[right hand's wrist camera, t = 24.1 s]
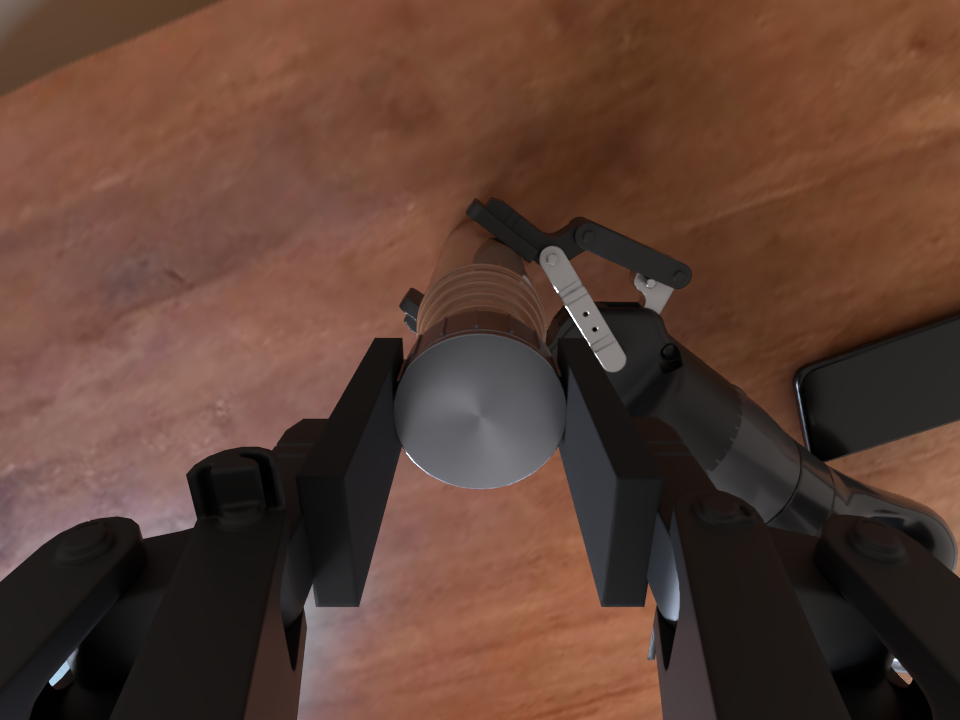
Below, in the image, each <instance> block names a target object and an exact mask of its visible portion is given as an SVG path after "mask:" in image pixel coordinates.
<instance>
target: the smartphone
mask: <svg viewBox="0 0 960 720" xmlns="http://www.w3.org/2000/svg"><path fill="white" fill-rule="evenodd" d="M793 388H794V393H795V398H796V404H797V409H798V414H799V420H800V425H801V430H802V435H803V440H804V445H805V448H806V449H807V450H808V451H809V452H811V453H812V454H813V455H814V456H816V457H817V458H818V459H820V460H821V461H822V462H828V461H832V460H835V459H838V458H841V457H844V456H848V455H851V454H854V453H857V452H860V451H863V450H867V449H870V448H873V447H876V446H879V445H883V444H886V443H889V442H892V441H895V440H898V439H902V438H905V437H908V436H911V435H914V434H917V433H921V432H924V431H927V430H930V429H933V428H936V427H940V426H943V425H946V424H949V423H952V422H956V421H959V420H960V311H959V312H956V313H954V314H951V315H948V316H945V317H942V318H939V319H936V320H933V321H930V322H927V323H924V324H921V325H918V326H916V327H913V328H910V329H907V330H904V331H901V332H898V333H895V334H892V335H889V336H886V337H883V338H880V339H878V340H875V341H872V342H869V343H866V344H863V345H860V346H857V347H854V348H851V349H848V350H845V351H842V352H840V353H837V354H834V355H831V356H828V357H825V358H822V359H819V360H816V361H813V362H810V363H808V364H805V365H803V366H801V367H800V368H799V369H798V370H797V371H796V372H795V374H794V376H793Z"/></svg>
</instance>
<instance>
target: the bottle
mask: <svg viewBox="0 0 960 720" xmlns="http://www.w3.org/2000/svg"><path fill="white" fill-rule="evenodd" d="M475 309H478V311H490V312H496V313H501V314H504V315H507V314H510V315H511V317H513V318H515V319H517V320H519V321H521V322H523V323H524V324H526V325H527V326H528V327H530V328H531V329H532V330H533V331H534V330H536V331H537V332H538V335H539V336H540V338H541V339H542V340H543V341H544V342H545V343H546V335H547V334H546V316H545V311H544V307H543V304H542V302H541V299H540V297H539V294H538V292H537V289H536V287H535V285H534V282H533V280H532V277H531V275H530V272H529V270H528V268H527V265H526V263H525V260H524V258H522V257H521V256H520V255H518V254H517V253H516V252H515V251H514V250H512V249H511V248H509V247H508V246H507V245H505V244H504V243H503V242H502V241H500V240H499V239H498V238H496V237H495V236H494V235H492V234H491V233H490V232H489V231H487V230H486V229H485V228H483V227H482V226H481V225H479V224H478V223H477V222H476V221H471V222H468V223H465V224H463V225H461V226H460V227H458V228H457V229H456V230H455V231H454V232H453V233H452V234H451V235H450V236H449V238H448V239H447V241H446V243H445V245H444V248H443V250H442V253H441V255H440V257H439V260H438V262H437V265H436V267H435V270H434V272H433V275H432V277H431V280H430V282H429V284H428V287H427V289H426V292H425V294H424V297H423V299H422V302H421V304H420V307H419V311H418V316H417V338H418V336H419V335H420V334H421V335H422V334H423V333H424V332H425V331H427V330H428V329H429V328H430V327H432V326H433V325H434V324H436V323H438V322H439V321H441V320H443V318H444V317H445V316H446V317H447V318H448V317H450V316H453V315H456V314H459V313H464V312H470V311H475Z"/></svg>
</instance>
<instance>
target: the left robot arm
mask: <svg viewBox="0 0 960 720" xmlns="http://www.w3.org/2000/svg"><path fill="white" fill-rule="evenodd" d="M466 214H467V215H468V216H469V217H471V218H472V219H473V220H474V221H476V222H477V223H478V224H479V225H481V226H482V227H483V228H485V229H486V230H487V231H489V232H490V233H491V234H492V235H494V236H495V237H496V238H498V239H499V240H500V241H502V242H503V243H504V244H505V245H507V246H508V247H509V248H511V249H512V250H514V251H515V252H516V253H517V254H518V255H520V256H521V257H522V258H524V259H525V260H526V261H527V262H529V263H530V262H531V261H532V260H534V261H535V262H537V263H538V264H539V265H540V266H541V267H542V269H543V270H544V272H545V274H546V275H547V277H548V278H549V280H550V282H551V283H552V285H553V287H554V288H555V290H556V291H557V293H558V295H559V296H560V298H561V300H562V301H563V303H564V305H565V306H566V307H565V306H563V307H562V308H561V309H560V310H559V311H558V313H557V314H556V315H555V316H554V318H553V320H552V322H551V324H550V326H549V329H548V330H547V331H546V334H547V335H546V343H545V344H546V346H547V347H548V349H549V350H550V352H551V355H552V354H554V356H555V358H556V361H557V347H558V338H586V340H587V342H588V343H589V345H590V347H591V349H592V350H593V352H594V354H595V356H596V357H597V359H598V361H599V363H600V364H601V366H602V368H603V370H604V371H605V373H606V375H607V377H608V378H609V380H610V382H611V383H612V385H613V387H614V389H615V390H616V392H617V394H618V396H619V397H620V399H621V401H622V403H623V404H624V406H625V408H626V410H627V411H628V413H629V415H630V417H657V418H659V419H660V420H662V421H664V422H665V423H667V424H668V425H670V426H671V427H673V428H674V429H675V430H676V432H677V433H678V435H679V436H680V437H681V439H682V440H683V442H684V445H686V446H687V447H688V449H689V450H690V452H691V453H692V456H694V457H695V459H696V460H697V461H698V463H699V464H700V466H701V467H702V468H703V470H704V471H705V473H706V474H707V476H708V477H709V478H710V480H711V481H712V483H713V484H714V485H715V487H716V488H717V490H720V491H724V492H727V493H730V494H732V495H734V496H737V497H739V498H741V499H743V500H744V501H746V502H747V503H748V504H750V505H751V506H753V507H754V508H755V509H756V510H757V512H758V513H759V514H760V516H761V517H762V518H763V520H764V523H765V525H767V526H771V527H774V528H778V529H782V530H787V531H792V532H797V533H801V534H806V535H811V536H816V537H818V536H819V532H820V529H821V526H822V523H823V522H824V521H825V520H827V519H828V518H829V517H831V516H837V515H843V514H846V515H855V516H863V517H868V518H871V519H875V520H878V521H881V522H884V523H886V524H887V525H889V526H892V527H894V528H896V529H898V530H900V531H902V532H904V533H905V534H907V535H908V536H909V537H911V538H912V539H914V540H915V541H917V542H918V543H919V544H921V545H922V546H923V547H924V548H925V549H926V550H928V551H929V552H930V553H931V554H932V555H933V556H935V557H936V558H937V559H938V560H939V561H940V562H942V563H943V564H944V565H945V566H946V567H947V568H949V569H950V570H951V571H952V572H953V573H954V571H955V567H956V563H957V559H958V549H957V544H956V540H955V538H954V535H953V533H952V531H951V530H950V528H949V526H948V525H947V523H946V522H945V521H944V519H943V518H942V517H940V516H939V515H938V514H937V513H936V512H935V511H933V510H932V509H931V508H929V507H927V506H925V505H923V504H921V503H919V502H917V501H914V500H912V499H909V498H906V497H904V496H901V495H897V494H894V493H891V492H888V491H885V490H882V489H878V488H875V487H873V486H870V485H868V484H865V483H863V482H861V481H858V480H856V479H854V478H852V477H849V476H847V475H845V474H843V473H841V472H839V471H837V470H835V469H833V468H831V467H829V466H827V465H826V464H825V463H823V462H822V461H821V460H820V459H818V458H817V457H816V456H814V455H813V454H812V453H811V452H809V451H808V450H807V449H806V448H804V447H803V446H802V445H800V444H799V443H798V442H797V441H795V440H794V439H793V438H792V437H790V436H789V435H788V434H787V433H786V432H785V431H783V430H782V428H781V427H780V426H779V425H778V424H777V423H776V422H775V421H774V419H773V418H772V417H771V416H770V415H769V414H768V413H767V412H766V411H765V410H763V409H762V408H761V407H760V406H759V405H758V404H756V403H755V402H754V401H752V400H751V399H750V398H749V397H747V395H746V394H745V393H744V392H743V390H741V389H740V388H739V387H737V386H735V385H733V384H731V383H730V382H728V381H727V380H726V379H725V378H723V377H722V376H721V375H719V374H718V373H717V372H716V371H714V370H713V369H712V368H711V367H709V366H708V365H707V364H706V363H704V362H703V361H702V360H701V359H699V358H698V357H697V356H695V355H694V354H693V353H692V352H690V351H689V350H688V349H687V348H685V347H684V346H683V345H682V344H680V343H679V342H678V341H677V340H675V339H674V338H673V337H671V336H670V335H669V334H668V332H667V330H666V328H665V325H664V322H663V319H662V318H661V316H660V313H661V311H662V309H663V308H664V306H665V304H666V302H667V301H668V299H669V297H670V295H671V294H672V292H673V290H674V289H681V288H683V287H685V286H686V285H687V284H688V283H689V282H690V280H691V277H692V272H691V269H690V268H689V267H688V266H687V265H685V264H683V263H681V262H680V261H678V260H676V259H674V258H672V257H670V256H668V255H666V254H664V253H662V252H660V251H657V250H655V249H653V248H651V247H648V246H646V245H644V244H642V243H640V242H637V241H635V240H633V239H631V238H628V237H626V236H624V235H622V234H620V233H617V232H615V231H613V230H611V229H608V228H606V227H604V226H602V225H600V224H597V223H595V222H593V221H591V220H588V219H586V218H584V217H576V218H574V219H572V220H571V221H570V222H569V224H568V225H566V226H565V227H563V228H562V229H560V230H559V231H557V232H554V233H544V232H542V231H540V230H539V229H538V228H537V227H535V226H534V225H533V224H531V223H530V222H529V221H528V220H526V219H525V218H524V217H523V216H521V215H520V214H519V213H518V212H516V211H515V210H514V209H513V208H511V207H510V206H509V205H508V204H506V203H505V202H504V201H502V200H500V199H496V198H492V197H491V198H490V200H489V201H488V203H487V204H486V205H484V204H483V203H482V202H480V201H479V200H477V199H476V198H475V199H474V200H473V202H472V203H471V205H470V206H469V207H468V209H467V210H466ZM585 250H587V251H589V252H591V253H594V254H596V255H598V256H600V257H603V258H605V259H607V260H610V261H612V262H614V263H616V264H619V265H621V266H623V267H625V268H628V269H630V270H631V272H630V275H629V279H630V282H631V284H632V285H633V286H634V287H635V288H637V289H638V290H639V292H640V301H639V302H593V300H592V298H591V297H590V295H589V293H588V292H587V290H586V288H585V287H584V285H583V284H582V282H581V281H580V279H579V277H578V276H577V274H576V272H575V271H574V269H573V267H572V266H571V264H570V262H569V260H570V259H572V258H574V257H575V256H577V255H578V254H580V253H582V252H583V251H585ZM423 297H424V295H423V294H422V293H421V292H419V291H418V290H416V289H414V288H410V290H409V291H408V292H407V294H406V295H405V297H404V298H403V300H402V301H401V303H400V305H399V307H400V308H401V310H402V311H403V312H405V313H406V314H407V315H406V317H405V319H404V322H405V323H406V325H407V326H408V327H409V329H410V330H411V331H413V332H414V333H416V334H417V316H418V311H419V307H420V304H421V302H422V299H423ZM891 667H892V668H893V669H894V670H895V671H896V672H900V673H907V674H909V673H908V672H907V671H906V670H905V669H904V668H903V666H902V665H901V664H900V663H899V662H898V660H897V659H896V658H894V661H893V663H892V665H891Z"/></svg>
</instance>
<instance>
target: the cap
mask: <svg viewBox="0 0 960 720" xmlns="http://www.w3.org/2000/svg"><path fill="white" fill-rule="evenodd" d="M560 377H562V375H561V372H560V369H559V367H558V364H557V361H556V358H555V356H554V354H552V355H551V352H550V350H549V349H548V347H547V346H546V344H545V342H544V341H543V340H542V339H541V338H540V336H539V335H538V332H537V331H536V330H534V331H533V330H532V329H531V328H530V327H528V326H527V325H526V324H524V323H523V322H521V321H519V320H517V319H515V318H513V317H511V315H510V314H507V315H504V314H501V313H496V312H490V311H478V309H475V311H470V312H464V313H459V314H456V315H453V316H450V317H448V318H447V317H446V316H445V317H444V318H443V320H441V321H439V322H438V323H436V324H434V325H433V326H432V327H430V328H429V329H428V330H427V331H425V332H424V333H423V334H422V335H421V334H420V335H419V336H418V338H417V341H416V343H415V344H414V346H413V347H412V349H411V351H410V353H409V355H408V357H407V360H405V359H404V361H403V364H402V367H401V369H400V372H399V375H398V377H397V380H396V383H398V385H397V388H396V391H395V394H394V400H393V407H394V422H395V431H396V434H397V437H398V439H399V441H400V444H401V445H402V447H403V449H404V450H405V452H406V453H407V454H408V456H409V457H410V458H411V459H412V461H413V462H414V463H415V464H417V465H418V466H419V467H420V468H421V469H422V470H424V471H425V472H426V473H428V474H429V475H431V476H433V477H434V478H436V479H438V480H440V481H443V482H445V483H448V484H451V485H454V486H458V487H463V488H471V489H490V488H497V487H502V486H506V485H510V484H512V483H515V482H517V481H520V480H522V479H524V478H526V477H528V476H529V475H531V474H532V473H534V472H535V471H537V470H538V469H539V468H540V467H541V466H543V465H544V464H545V463H546V462H547V461H548V459H549V458H550V457H551V456H552V455H553V453H554V452H555V450H556V449H557V447H558V445H559V443H560V441H561V439H562V437H563V434H564V431H565V426H566V413H567V399H566V394H565V391H564V387H563V384H562V382H561V379H560Z"/></svg>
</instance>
